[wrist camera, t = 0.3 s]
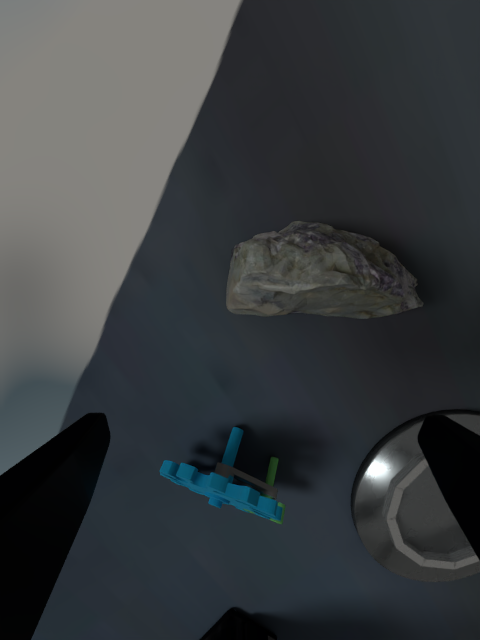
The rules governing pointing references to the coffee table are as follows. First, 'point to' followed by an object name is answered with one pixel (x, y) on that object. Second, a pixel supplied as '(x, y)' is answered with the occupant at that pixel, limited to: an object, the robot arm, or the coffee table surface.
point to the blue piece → (222, 487)
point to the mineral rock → (318, 275)
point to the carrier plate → (410, 508)
